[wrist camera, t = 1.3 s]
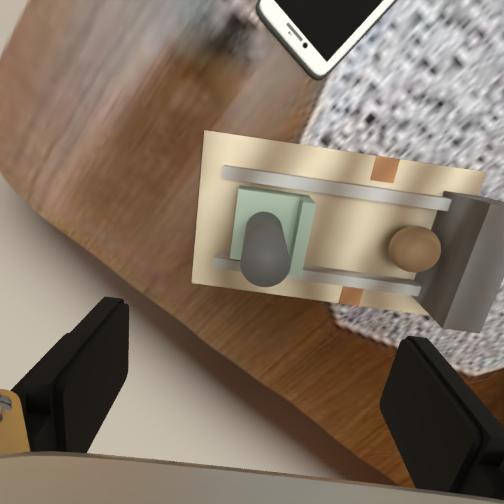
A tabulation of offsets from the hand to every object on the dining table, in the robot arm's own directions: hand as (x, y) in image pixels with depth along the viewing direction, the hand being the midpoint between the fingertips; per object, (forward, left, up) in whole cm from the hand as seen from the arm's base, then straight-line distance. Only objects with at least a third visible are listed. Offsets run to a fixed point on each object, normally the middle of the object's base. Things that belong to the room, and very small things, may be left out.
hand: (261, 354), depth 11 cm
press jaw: (-1, 0, -19) cm, 19 cm away
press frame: (-6, 0, -21) cm, 22 cm away
